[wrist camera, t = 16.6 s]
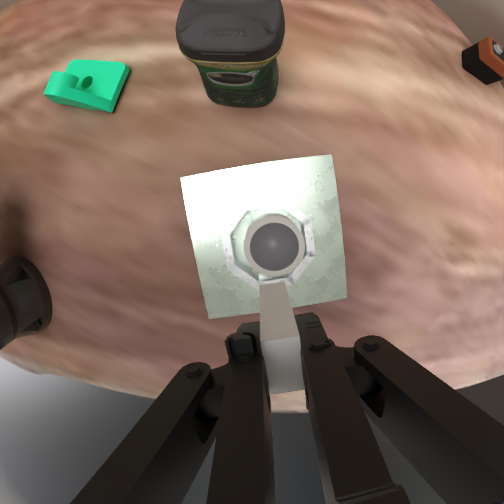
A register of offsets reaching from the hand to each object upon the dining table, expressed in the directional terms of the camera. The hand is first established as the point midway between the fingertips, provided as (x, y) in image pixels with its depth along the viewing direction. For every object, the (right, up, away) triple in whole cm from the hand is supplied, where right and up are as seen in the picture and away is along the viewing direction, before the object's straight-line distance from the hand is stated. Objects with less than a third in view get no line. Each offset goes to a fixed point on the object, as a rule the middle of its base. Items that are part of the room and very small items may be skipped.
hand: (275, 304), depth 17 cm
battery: (+39, +36, +14) cm, 55 cm away
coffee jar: (-3, +26, +17) cm, 31 cm away
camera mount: (-26, +29, +17) cm, 43 cm away
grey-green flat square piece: (+1, +5, +22) cm, 22 cm away
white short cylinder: (+1, +5, +21) cm, 21 cm away
